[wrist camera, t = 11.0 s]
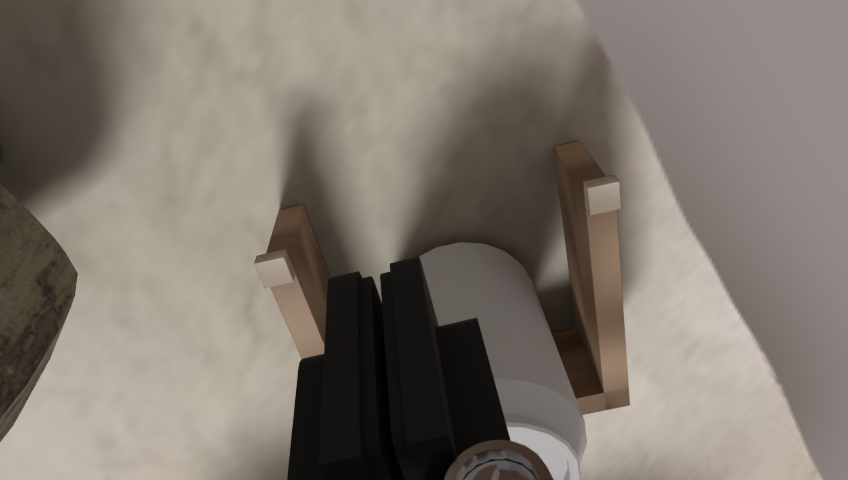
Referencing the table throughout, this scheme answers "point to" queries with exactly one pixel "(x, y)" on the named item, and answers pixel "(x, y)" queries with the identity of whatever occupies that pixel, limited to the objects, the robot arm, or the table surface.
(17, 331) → the tabletop clock
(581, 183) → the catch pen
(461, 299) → the can
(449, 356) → the robot arm
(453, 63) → the table surface
